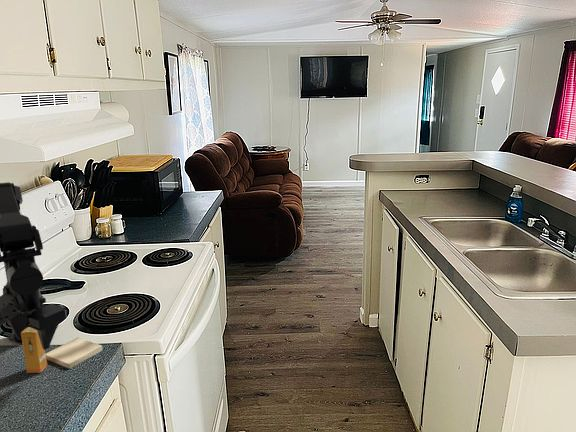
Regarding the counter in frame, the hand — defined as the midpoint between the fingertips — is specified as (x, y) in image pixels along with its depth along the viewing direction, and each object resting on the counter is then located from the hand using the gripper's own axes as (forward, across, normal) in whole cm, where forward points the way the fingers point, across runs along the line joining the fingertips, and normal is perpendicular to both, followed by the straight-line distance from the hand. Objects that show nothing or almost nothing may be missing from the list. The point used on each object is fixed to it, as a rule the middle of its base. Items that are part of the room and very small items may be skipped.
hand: (33, 343), depth 100 cm
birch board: (+6, +2, +8) cm, 10 cm away
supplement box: (+7, 0, 0) cm, 7 cm away
